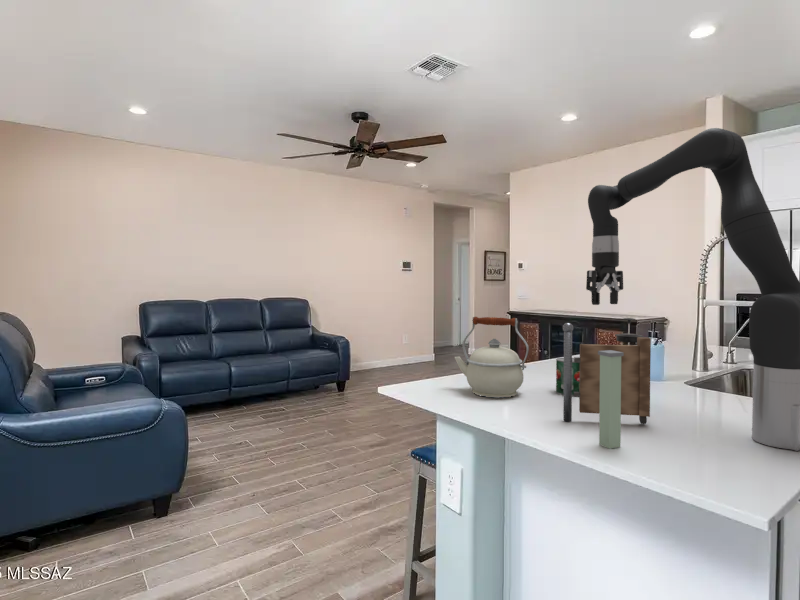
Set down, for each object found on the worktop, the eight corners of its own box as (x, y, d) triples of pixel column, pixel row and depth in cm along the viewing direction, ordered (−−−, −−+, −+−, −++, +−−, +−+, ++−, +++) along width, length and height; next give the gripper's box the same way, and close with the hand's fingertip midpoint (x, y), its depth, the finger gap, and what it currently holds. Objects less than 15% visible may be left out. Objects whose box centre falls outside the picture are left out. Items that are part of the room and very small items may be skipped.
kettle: (535, 391, 150) (535, 316, 149) (519, 404, 135) (519, 320, 134) (464, 383, 163) (464, 314, 162) (443, 394, 147) (443, 317, 146)
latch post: (597, 443, 101) (597, 350, 100) (610, 441, 102) (611, 350, 101) (609, 449, 97) (610, 353, 97) (622, 447, 99) (623, 352, 98)
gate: (574, 421, 116) (575, 337, 115) (573, 418, 119) (573, 336, 118) (649, 425, 112) (650, 338, 112) (646, 422, 115) (647, 337, 114)
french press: (606, 379, 167) (607, 317, 167) (627, 377, 170) (627, 316, 170) (632, 386, 156) (633, 319, 155) (653, 384, 159) (654, 319, 158)
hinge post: (575, 421, 117) (575, 322, 116) (567, 422, 116) (568, 323, 115) (567, 418, 120) (567, 322, 119) (560, 420, 118) (560, 322, 117)
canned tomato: (552, 390, 152) (553, 357, 151) (576, 390, 151) (576, 357, 151) (560, 396, 144) (560, 361, 143) (585, 396, 143) (585, 361, 143)
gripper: (600, 250, 132) (600, 305, 132) (631, 251, 139) (630, 304, 139) (579, 251, 138) (579, 304, 139) (609, 253, 145) (609, 303, 146)
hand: (604, 304), depth 139 cm, fingers open, 8 cm apart
